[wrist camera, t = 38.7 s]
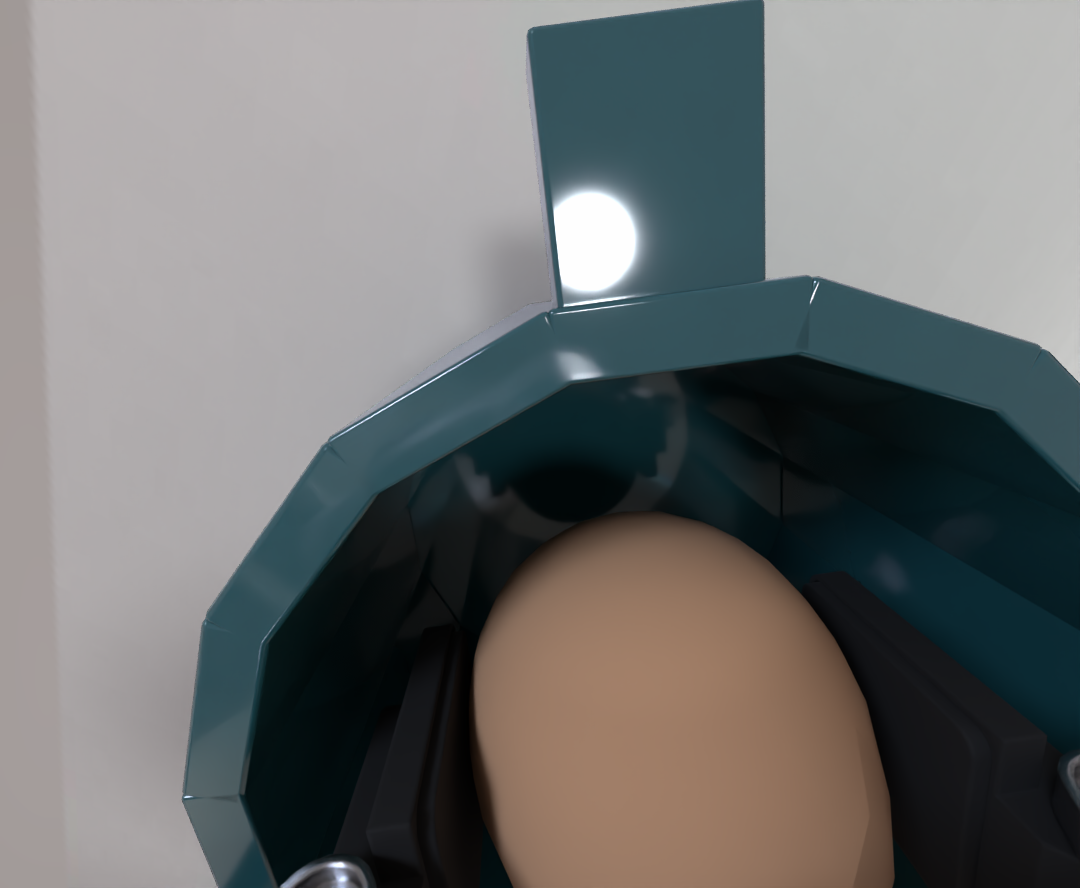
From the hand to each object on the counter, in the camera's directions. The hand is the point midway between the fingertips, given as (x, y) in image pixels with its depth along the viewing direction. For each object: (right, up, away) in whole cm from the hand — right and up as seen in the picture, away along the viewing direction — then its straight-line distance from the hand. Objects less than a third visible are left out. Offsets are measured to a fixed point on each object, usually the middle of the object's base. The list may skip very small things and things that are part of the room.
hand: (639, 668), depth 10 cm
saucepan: (0, +2, +7) cm, 8 cm away
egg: (0, +1, +3) cm, 3 cm away
